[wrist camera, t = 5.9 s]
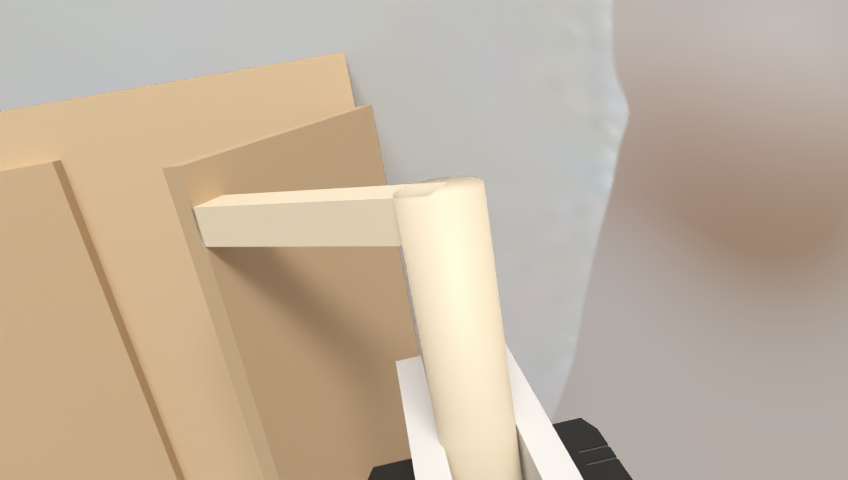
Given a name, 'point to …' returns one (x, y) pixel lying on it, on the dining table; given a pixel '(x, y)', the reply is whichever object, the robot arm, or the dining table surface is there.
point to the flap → (348, 301)
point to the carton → (126, 276)
